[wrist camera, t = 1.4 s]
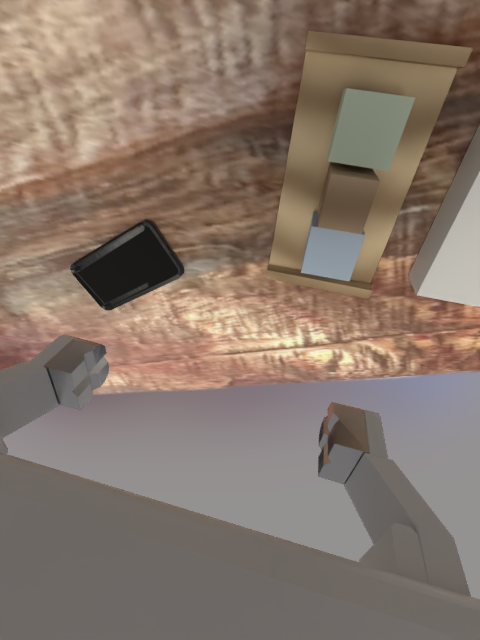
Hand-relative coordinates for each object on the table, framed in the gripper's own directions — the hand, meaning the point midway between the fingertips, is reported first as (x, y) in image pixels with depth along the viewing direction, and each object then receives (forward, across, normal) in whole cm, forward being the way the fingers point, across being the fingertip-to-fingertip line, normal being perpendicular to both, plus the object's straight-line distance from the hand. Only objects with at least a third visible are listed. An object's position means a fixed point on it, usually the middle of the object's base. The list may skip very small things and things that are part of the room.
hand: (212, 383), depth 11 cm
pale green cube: (+24, -5, -7) cm, 26 cm away
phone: (+26, +19, +12) cm, 35 cm away
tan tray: (+26, -5, -2) cm, 27 cm away
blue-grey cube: (+25, -5, +2) cm, 25 cm away
